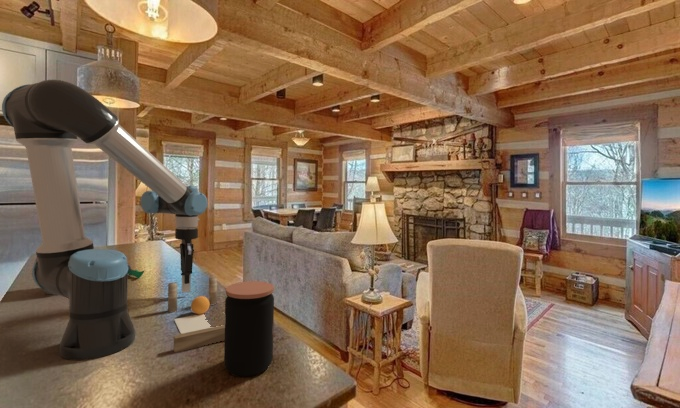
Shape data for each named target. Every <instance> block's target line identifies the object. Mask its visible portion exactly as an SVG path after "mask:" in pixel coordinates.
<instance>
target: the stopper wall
mask: <svg viewBox="0 0 680 408" xmlns="http://www.w3.org/2000/svg"><path fill="white" fill-rule="evenodd" d="M224 340H225V325H221V326H216V327H212V328H207V329H202V330H197V331H192V332H188V333H183V334H181V333H178V334H175V335H173V352H174V353H175V354H176V353H179V352H183V351H188V350H192V349H195V348H201V347H205V346H208V344H209V345H213V344H212V343H214V344H217V343H216V342H218V343H221V342H220V341H222V342H225V341H224ZM204 345H205V346H204Z"/></svg>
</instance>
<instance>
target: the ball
mask: <svg viewBox="0 0 680 408" xmlns="http://www.w3.org/2000/svg"><path fill="white" fill-rule="evenodd" d="M210 306H211V305H210V303H209V298H207V297H206V296H204V295H201V296H200V295H199V296H197V297H195V298H194V299H193V300H192V301H191V304H190V309H191V311H192V313H194V314H195V315H199V314H204V313H207V311H209V308H210Z"/></svg>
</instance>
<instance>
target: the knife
mask: <svg viewBox="0 0 680 408" xmlns="http://www.w3.org/2000/svg"><path fill="white" fill-rule="evenodd" d="M144 273H145V269H144V270H141V271H139V270H138V269H135V270H134V269H132V267H131V265H130V264H128V276H134V277H135V278H137V279H139V278H141V277H142V276H143V274H144Z"/></svg>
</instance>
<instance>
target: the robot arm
mask: <svg viewBox="0 0 680 408" xmlns="http://www.w3.org/2000/svg"><path fill="white" fill-rule="evenodd" d="M1 111H2V115H3V117H4V119H5V121H6V122H7V123H8V125H10V126H11V127H12V128H13V130H14V131H13V132H14V135H15V141H16V142H18V143H19V144H20V145H22V146H23V147H25V149H26V155H27V160H28V162H27V163H28V166H29V171H30V177H31V178H30V179H31V184H32V189H33V195H34V200H35V201H34V202H35V206H36V213H37V218H38V223H39V230H40V234H41V235H40V237H41V240H42V241H41V244H40V245H39V246H38V247H37V248H36V249H35V255H36V258H37V261H36V262H35V261H34V263H33V265H32V269H31V276H32V279H33V282H34V284H36V286H37V287H39V288H40V289H42V291H44V292H45V293H46V292H48V293H51V294H50V295H54V296H60V297H64V298H65V299H69V300H68V301H69V302H68V303H69V304H68V305H69V307H68V308H69V309H68V310H69V316H68V317H69V319H68V322H67V325H66V327H65V330H64V332H63V334H62V338H61V341H60V343H59V356H60V357H61V358H63V359H65V360H70V361H81V360H82V361H83V360H90V359H91V360H92V359H97V358H100V357H105V356H109V355H111V354H114V353H117V352H120V351H121V350H124V349H126V348H128V347H129V346H131V345H132V344H133V343H134V341H135V340H136V329H135V326H134V323H133V321H132V318H131V316H130V314H129V311H128V276H129V274H128V265H129V264H128V257H127V256H126V254H125V253H123V252H122V251H119V250H116V249H105V248H95V247H94V242H93V240H92V239H91V238H88V237H86V236H85V229H84V221H83V217H82V216H83V215H82V210H81V209H82V208H81V202H80V196H79V189H78V183H77V176H76V169H75V168H76V167H75V163H74V162H75V161H74V157H73V149H72V147H73V146H74V145H76V143H77V142H78V141H79V140H78V139H80V140H81V141H82V142H83V143H85V144H88V145H95V146H96V147H97V148H98V149H100V150H101V151H102V152H103V153H104V154H106V155H107V156H108V157H110V158H111V159H112V160H113V161H114V162H116V163H117V164H118V165H119V166H121V167H122V168H123V169H125V170H126V171H127V172H128V173H130V174H131V175H132V176H134V177H135V178H136V179H137V180H139V181H140V182H141V183H143V184H144V185H145V186H146V187H148V188H149V189H150V190H146V191H144V192H143V193H142V194H141V196H140V207H141V209H142V211H143V212H144V213H146V214H154V215H155V214H170V215H175V219H174V221H175V223H174V225H175V226H174V227H175V231H174V232H175V233H174V235H175V236H174V237H175V239H176V240H179V241H181V243H179V251H180V253H179V254H180V271H181V273H180V276H181V293H189V292H191V284H192V282H191V276H192V274H193V265H194V264H193V261H194V253H195V250H194V243H193V242H192V240H196V239H198V237H199V229H198V228H197V227H198V226H199V221H201V220H200V218H199V216H200V215H203V214H204V213H205V212H206V210H207V209H208V198H207V196H206V194H204V193H203V192H200V191H199V189H198V187H197V186H195V185H186V184H185V183H184V182H183V181H181V179H179V178H178V177H177V175H175V174H174V173H173V172H172V171H171V170H170V169H168V168H167V167H166V165H164V163H162V162H161V161H160V160H159V159H158V158H156V157H155V155H154V154H152V153H151V152H150V151H149V150H148V149H146V147H145V146H143V145H142V144H141V143H140V142H139V141H138V140H137V139H136V138H135V137H134V136H133V135H132V134H130V133H129V132H128V131H127V130H126V129H125V128H124V127H123V126H121V124H120V120H119V117H118V116H117V115H116V114H115V113H113V112H112V111H111V110H110V109H109V107H107V106H106V105H104V103H102V102H101V101H100V100H99V99H97V98H96V97H95V96H94V95H92V94H90V92H88V91H87V90H85V89H83V88H82V87H80V86H78V85H76V84H74V83H72V82H69V81H65V80H61V79H48V80H47V79H46V80H42V81H39V82H36V83H31V84H30V83H28V84H24V85H19V86H18V87H15V88H14V89H12V90H11V91H10V92H8V93H7V94H6V95H5V96H4V98H3V100H2V103H1Z"/></svg>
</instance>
